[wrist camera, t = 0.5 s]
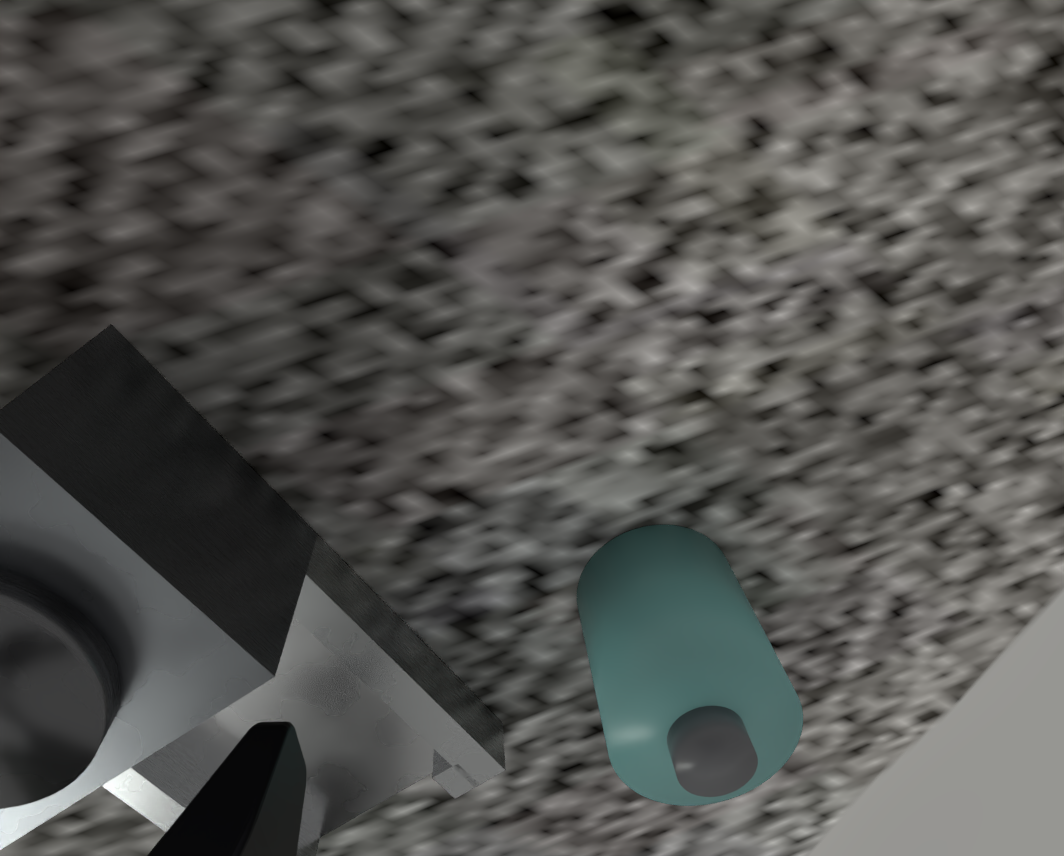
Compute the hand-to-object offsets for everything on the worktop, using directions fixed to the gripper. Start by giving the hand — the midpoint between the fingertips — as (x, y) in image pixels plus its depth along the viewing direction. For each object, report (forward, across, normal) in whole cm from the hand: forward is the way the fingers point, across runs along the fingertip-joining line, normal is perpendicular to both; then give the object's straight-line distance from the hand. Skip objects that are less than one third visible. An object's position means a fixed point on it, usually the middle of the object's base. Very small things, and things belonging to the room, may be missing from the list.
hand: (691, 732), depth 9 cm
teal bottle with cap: (+13, -2, +11) cm, 17 cm away
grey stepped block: (+12, +12, +11) cm, 20 cm away
